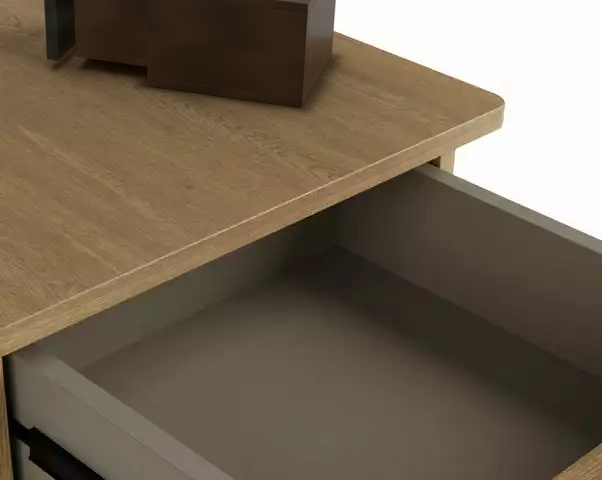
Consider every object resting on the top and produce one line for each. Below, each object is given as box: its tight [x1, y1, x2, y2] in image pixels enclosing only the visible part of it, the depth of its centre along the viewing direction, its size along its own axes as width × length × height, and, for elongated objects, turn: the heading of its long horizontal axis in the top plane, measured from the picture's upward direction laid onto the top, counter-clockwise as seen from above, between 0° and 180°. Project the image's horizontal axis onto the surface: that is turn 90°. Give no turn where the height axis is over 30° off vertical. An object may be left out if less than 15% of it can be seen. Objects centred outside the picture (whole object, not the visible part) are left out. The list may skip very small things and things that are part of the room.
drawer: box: [43, 0, 147, 68], centre depth 125 cm, size 20×13×8 cm, turn 77°
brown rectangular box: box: [146, 0, 337, 108], centre depth 123 cm, size 15×14×10 cm
